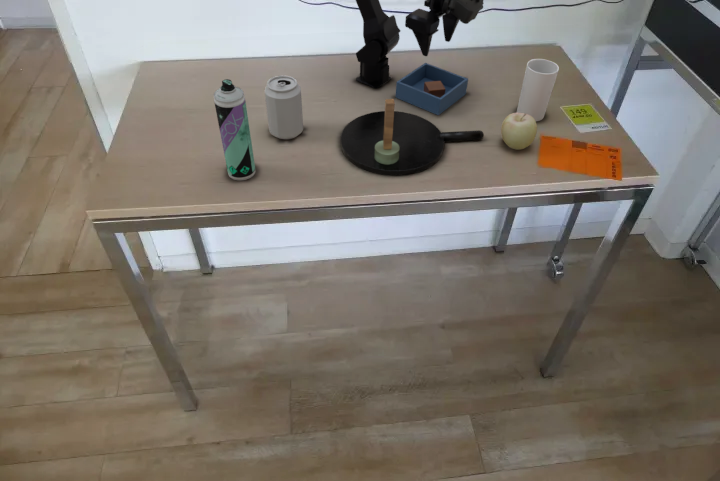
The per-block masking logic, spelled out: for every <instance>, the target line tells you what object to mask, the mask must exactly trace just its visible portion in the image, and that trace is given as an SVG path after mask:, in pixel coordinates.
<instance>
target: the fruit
mask: <svg viewBox="0 0 720 481" xmlns="http://www.w3.org/2000/svg"><path fill="white" fill-rule="evenodd" d="M537 132H538V125H537V121H535V119H534V118H533V117H532V116H530V115H528V114H526V113H525V114H524V113H517V112H513V113H510V114H508V115H507V116H506V117H505V118H504V120H503V121H502V123H501V127H500V134H501V139H502V140H503V142H504V143H505V145H506V146H507V147H509V148H510V149H513V150H519V151H520V150H524V149H526V148H528V147H530V146H531V144H532V143H533V142H534V141H535V138H536V135H537Z"/></svg>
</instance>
